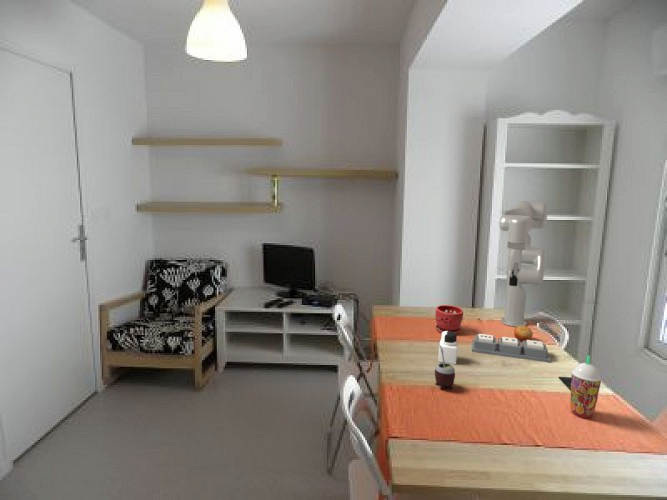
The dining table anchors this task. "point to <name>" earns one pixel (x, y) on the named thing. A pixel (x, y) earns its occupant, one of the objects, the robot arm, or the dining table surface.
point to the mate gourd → (444, 374)
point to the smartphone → (566, 381)
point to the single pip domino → (534, 344)
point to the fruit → (523, 333)
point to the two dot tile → (509, 341)
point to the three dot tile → (485, 338)
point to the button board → (510, 350)
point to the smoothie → (584, 389)
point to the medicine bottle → (448, 347)
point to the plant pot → (448, 318)
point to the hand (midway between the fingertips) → (512, 285)
